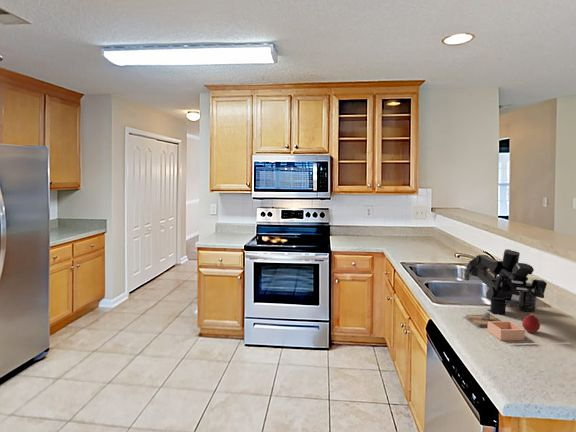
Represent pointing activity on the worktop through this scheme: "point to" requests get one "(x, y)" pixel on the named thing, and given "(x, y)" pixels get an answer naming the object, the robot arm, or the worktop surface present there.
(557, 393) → the worktop surface
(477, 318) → the walnut lid
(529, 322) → the onion
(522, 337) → the terracotta dish
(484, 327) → the rubber mat
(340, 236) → the worktop surface
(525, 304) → the supplement bottle
